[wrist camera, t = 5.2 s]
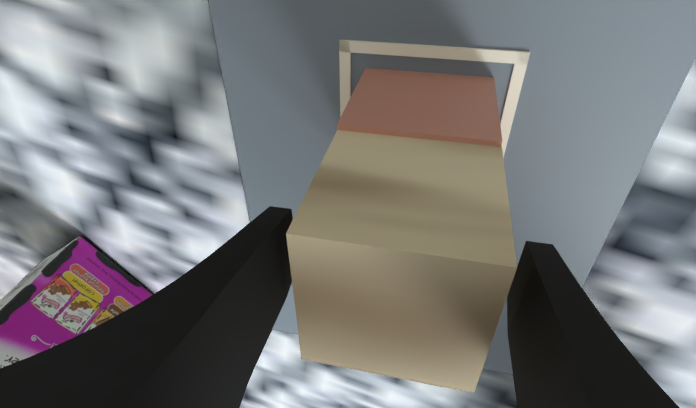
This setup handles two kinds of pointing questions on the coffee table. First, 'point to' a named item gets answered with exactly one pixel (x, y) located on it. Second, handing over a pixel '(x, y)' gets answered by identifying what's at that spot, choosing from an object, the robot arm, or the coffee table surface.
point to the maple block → (403, 257)
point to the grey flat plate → (474, 60)
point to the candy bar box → (63, 300)
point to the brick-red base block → (424, 106)
